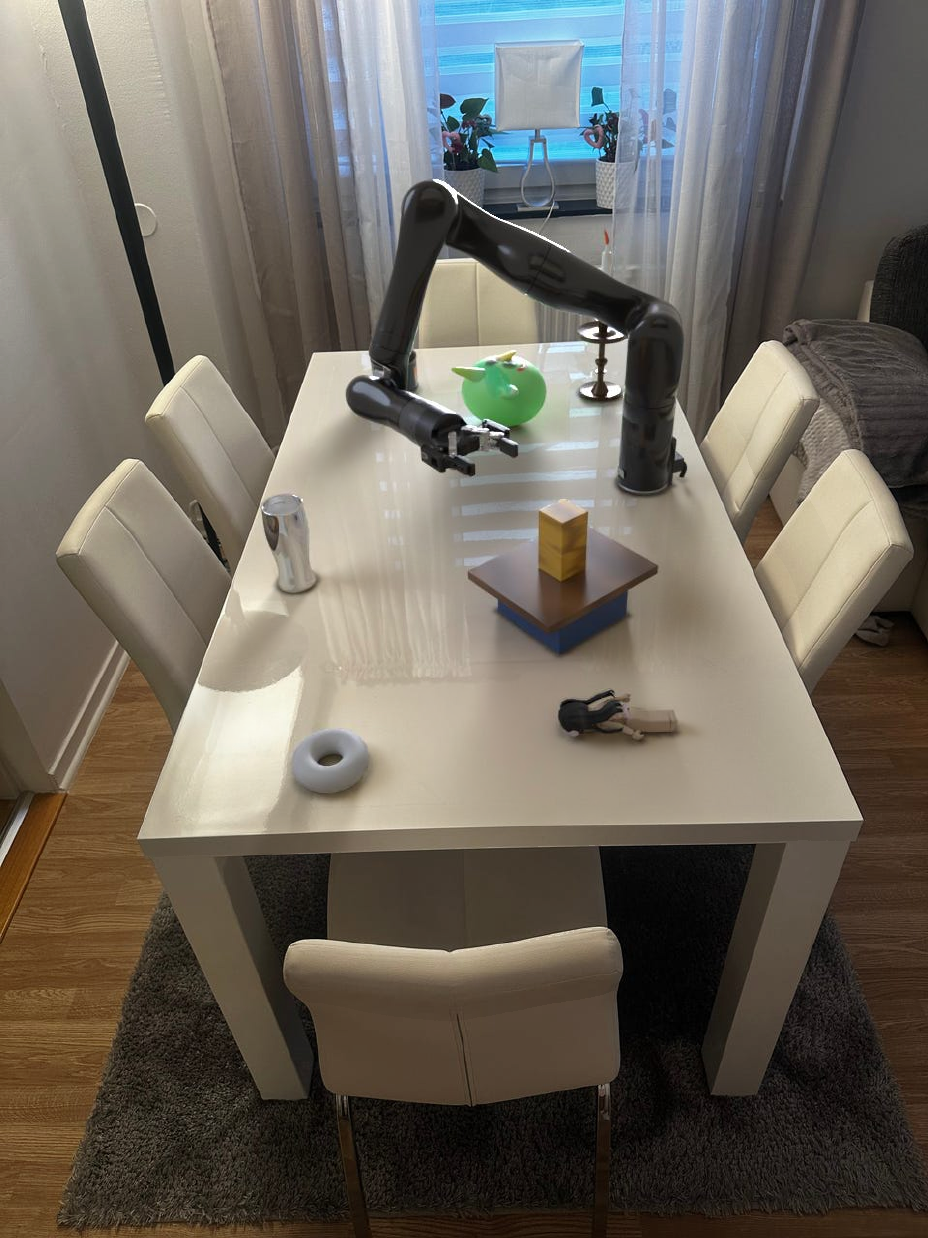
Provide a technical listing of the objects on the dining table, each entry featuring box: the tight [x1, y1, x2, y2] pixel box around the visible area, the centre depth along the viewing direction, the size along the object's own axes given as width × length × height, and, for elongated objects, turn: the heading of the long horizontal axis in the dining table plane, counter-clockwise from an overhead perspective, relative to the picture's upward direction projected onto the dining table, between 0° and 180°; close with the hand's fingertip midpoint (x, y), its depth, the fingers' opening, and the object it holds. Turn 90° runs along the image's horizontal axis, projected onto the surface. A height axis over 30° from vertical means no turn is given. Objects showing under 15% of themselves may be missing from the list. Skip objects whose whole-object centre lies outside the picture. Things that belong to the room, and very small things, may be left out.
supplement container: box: [369, 344, 420, 394], centre depth 202 cm, size 10×10×12 cm
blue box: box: [497, 590, 629, 655], centre depth 136 cm, size 14×14×7 cm
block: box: [538, 497, 589, 582], centre depth 130 cm, size 5×5×10 cm
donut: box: [290, 728, 370, 794], centre depth 114 cm, size 10×4×10 cm
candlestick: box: [576, 228, 627, 403], centre depth 189 cm, size 11×11×35 cm
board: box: [467, 525, 659, 635], centre depth 133 cm, size 22×18×2 cm
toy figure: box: [557, 687, 678, 740], centre depth 116 cm, size 7×6×15 cm
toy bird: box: [450, 350, 547, 427], centre depth 186 cm, size 18×17×15 cm
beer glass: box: [260, 493, 316, 594], centre depth 143 cm, size 7×7×15 cm
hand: (495, 461), depth 136 cm, fingers open, 8 cm apart
